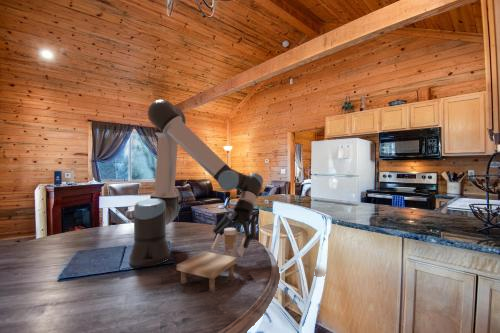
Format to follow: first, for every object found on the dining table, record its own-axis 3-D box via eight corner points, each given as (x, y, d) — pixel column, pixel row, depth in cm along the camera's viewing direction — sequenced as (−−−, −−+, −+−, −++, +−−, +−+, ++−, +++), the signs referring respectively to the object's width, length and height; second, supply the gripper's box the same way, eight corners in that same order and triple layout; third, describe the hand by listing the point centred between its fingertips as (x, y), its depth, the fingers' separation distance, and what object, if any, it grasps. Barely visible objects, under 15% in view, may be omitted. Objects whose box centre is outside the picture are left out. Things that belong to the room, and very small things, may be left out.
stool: (176, 283, 79) (176, 265, 79) (203, 267, 91) (203, 251, 91) (213, 294, 73) (213, 273, 73) (237, 275, 85) (237, 257, 85)
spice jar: (222, 265, 93) (221, 229, 93) (227, 261, 97) (227, 226, 97) (233, 267, 92) (233, 230, 91) (238, 262, 96) (238, 227, 96)
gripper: (273, 212, 103) (257, 263, 89) (225, 207, 113) (204, 252, 100) (268, 200, 98) (251, 252, 84) (219, 197, 109) (196, 243, 95)
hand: (226, 253), depth 92 cm, fingers open, 11 cm apart
